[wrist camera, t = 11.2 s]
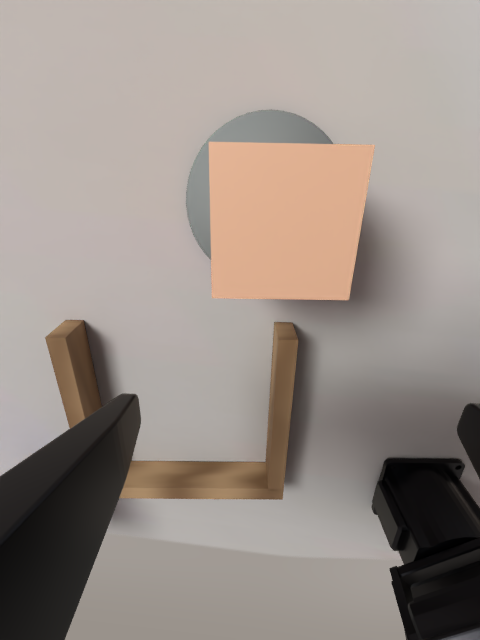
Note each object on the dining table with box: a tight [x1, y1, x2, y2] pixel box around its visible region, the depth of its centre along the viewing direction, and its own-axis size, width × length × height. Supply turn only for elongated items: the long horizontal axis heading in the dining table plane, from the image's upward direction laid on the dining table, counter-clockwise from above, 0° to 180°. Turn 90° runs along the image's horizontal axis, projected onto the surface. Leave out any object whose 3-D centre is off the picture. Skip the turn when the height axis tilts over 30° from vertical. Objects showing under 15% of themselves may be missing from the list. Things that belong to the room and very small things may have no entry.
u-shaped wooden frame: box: [45, 320, 298, 499], centre depth 23 cm, size 15×14×2 cm
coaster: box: [186, 110, 333, 260], centre depth 18 cm, size 9×9×1 cm
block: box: [209, 142, 375, 300], centre depth 14 cm, size 5×5×8 cm
